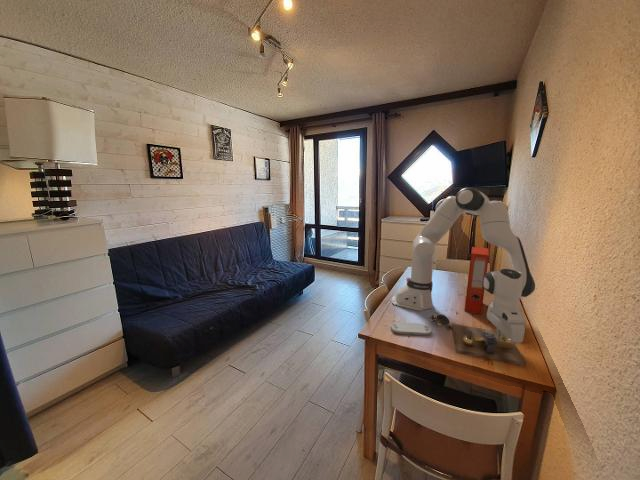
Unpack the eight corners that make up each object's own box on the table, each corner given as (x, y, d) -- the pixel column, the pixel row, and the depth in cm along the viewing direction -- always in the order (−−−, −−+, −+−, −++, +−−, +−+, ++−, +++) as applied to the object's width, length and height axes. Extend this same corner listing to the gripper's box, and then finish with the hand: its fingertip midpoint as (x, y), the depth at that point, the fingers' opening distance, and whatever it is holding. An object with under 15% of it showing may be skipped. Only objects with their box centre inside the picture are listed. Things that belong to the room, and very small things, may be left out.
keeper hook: (484, 352, 104) (485, 340, 103) (481, 343, 110) (482, 332, 109) (496, 355, 103) (497, 342, 102) (492, 345, 109) (494, 334, 108)
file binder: (481, 302, 153) (488, 248, 146) (481, 314, 138) (489, 255, 132) (465, 299, 157) (471, 246, 150) (464, 311, 142) (470, 253, 136)
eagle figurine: (428, 325, 126) (448, 328, 120) (429, 310, 128) (449, 312, 123) (433, 328, 131) (453, 330, 125) (434, 313, 134) (454, 315, 128)
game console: (392, 329, 120) (390, 320, 128) (391, 334, 121) (389, 325, 129) (433, 332, 118) (429, 323, 126) (433, 337, 118) (428, 327, 126)
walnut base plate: (456, 352, 107) (456, 349, 106) (451, 326, 127) (451, 323, 126) (525, 366, 98) (525, 362, 98) (508, 336, 118) (509, 332, 118)
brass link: (465, 346, 108) (466, 334, 107) (461, 340, 112) (462, 329, 111) (513, 349, 106) (514, 337, 105) (507, 343, 110) (509, 331, 109)
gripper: (484, 298, 119) (481, 326, 121) (511, 321, 99) (506, 354, 101) (499, 298, 118) (495, 327, 121) (530, 322, 98) (524, 355, 101)
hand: (501, 339), depth 111 cm, fingers closed
